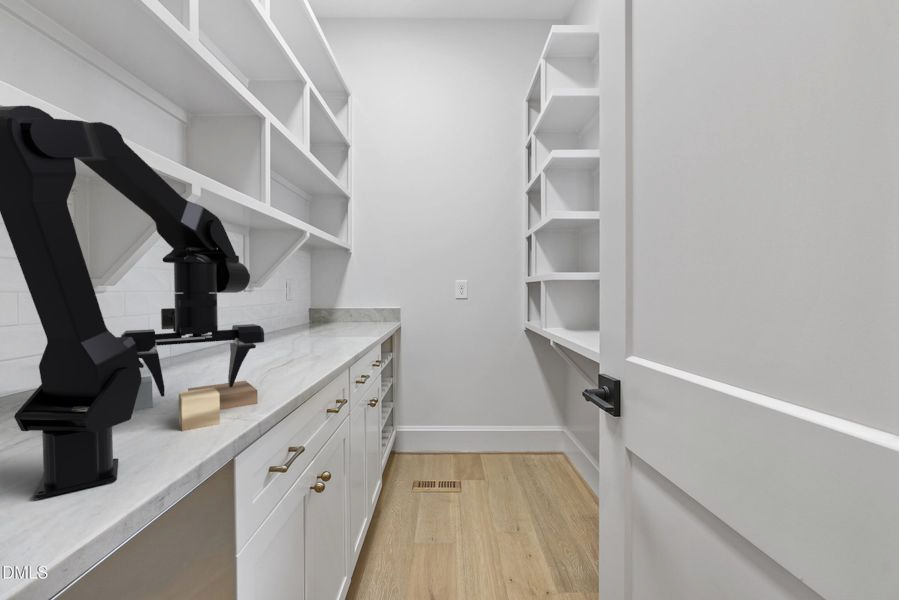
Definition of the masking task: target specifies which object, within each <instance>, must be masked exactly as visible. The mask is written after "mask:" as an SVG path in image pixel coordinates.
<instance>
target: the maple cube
mask: <svg viewBox="0 0 899 600" xmlns="http://www.w3.org/2000/svg"><path fill="white" fill-rule="evenodd" d="M220 414H221V410H220V396H219V392H218V391H217V390H216V389H215V388H207V389H200V390H192V391H188V390H186V391H179V392H178V423H179V427H180V429H181V431H182V432H185V431H186V432H187V431H191V430H197V429H202V428H203V429H204V428H207V427H211V426H212V427H214V426H219V425H221V415H220Z"/></svg>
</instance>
